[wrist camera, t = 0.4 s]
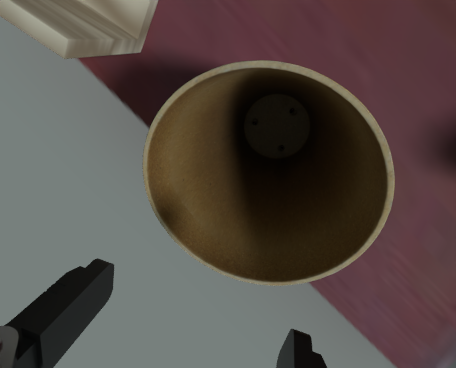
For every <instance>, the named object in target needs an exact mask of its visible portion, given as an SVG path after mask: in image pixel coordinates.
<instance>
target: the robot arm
mask: <svg viewBox="0 0 456 368" xmlns="http://www.w3.org/2000/svg"><path fill="white" fill-rule="evenodd" d="M113 276H114V265H113V264H112V263H109V262H106V261H103V260H101V259H95V260H93V261H92V262H91V263H90V264H89V265H88V266H87V267H86V268H83V267H81V266H79V267H77V268H75V269H73V270H71V271H69V272H67V273H66V274H65V275H64V276H62V277H61V278H60V279H59V280H58V281H56V283H55V284H53V285H52V286H51V287H49V288H48V289H47V291H46V292H44V293H43V294H41V295H40V296H39V297H38V298H37V299H36V300H34V301H33V302H32V303H31V304H30V305H29V306H28V307H26V308H25V309H24V310H23V311H22V312H21V313H20V314H18V315H17V316H16V317H15V318H14V319H12V320H11V321H10V322H9V323H7V324H6V325H4V326H0V368H53V367H54V366H55V365H56V363H57V362H58V361H59V360H60V359H61V357H62V356H63V355H64V354H65V353H66V351H67V350H68V349H69V348H70V347H71V345H72V344H73V343H74V341H75V340H76V339H77V338H78V337H79V336H80V334H81V333H82V332H83V331H84V329H85V328H86V327H87V326H88V325H89V323H90V322H91V321H92V320H93V319H94V317H95V316H96V315H97V313H98V312H99V311H100V310H101V309H102V308H103V306H104V305H105V304H106V302H107V301H108V300H109V298H110V295H111V293H112V290H113V278H114V277H113ZM276 368H327V366H326V364H325V362H324V360H323V358H322V356H321V354H318V353H315V352H313V351H312V341H311V337H310V335H308V334H306V333H303V332H300V331H297V330H294V329H291V330H290V332H289V334H288V336H287V338H286V340H285V342H284V344H283V346H282V348H281V350H280V353H279V356H278V360H277V367H276Z"/></svg>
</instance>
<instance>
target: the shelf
mask: <svg viewBox="0 0 456 368" xmlns="http://www.w3.org/2000/svg"><path fill="white" fill-rule="evenodd" d="M157 3H158V0H0V16H1V17H2V18H4V19H5V20H7V21H8V22H10V23H11V24H13V25H14V26H16V27H17V28H19V29H20V30H22V31H23V32H25V33H26V34H28V35H29V36H31V37H32V38H34V39H36V40H37V41H39V42H40V43H41V44H43V45H44V46H46V47H48V48H49V49H50V50H52V51H53V52H55V53H56V54H58V55H60V56H61V57H62V58H64V59H68V58H81V57H93V56H105V55H118V54H130V53H141V50H142V47H143V44H144V41H145V38H146V35H147V32H148V29H149V26H150V23H151V20H152V18H153V15H154V12H155V9H156V6H157Z"/></svg>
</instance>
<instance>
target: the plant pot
mask: <svg viewBox="0 0 456 368" xmlns="http://www.w3.org/2000/svg"><path fill="white" fill-rule="evenodd" d="M291 109H294V111H293V112H290V110H291ZM253 122H256V124H253ZM281 146H283V147H284V149H283V150H282V149H281ZM143 176H144V183H145V189H146V192H147V196H148V199H149V202H150V204H151V206H152V209H153V211H154V213H155V215H156V217H157V218H158V220H159V221H160V223H161V224H162V226H163V227H164V229H165V230H166V231H167V233H168V234H169V235H170V236H171V238H172V239H173V240H174V241H175V242H176V243H177V244H178V245H179V246H180V247H181V248H182V249H183V250H184V251H186V252H187V253H188V254H189V255H190V256H192V257H193V258H195V259H196V260H198V261H199V262H200V263H202V264H204V265H205V266H207V267H209V268H211V269H212V270H215V271H216V272H218V273H220V274H223V275H225V276H228V277H231V278H234V279H237V280H240V281H244V282H248V283H253V284H260V285H276V286H277V285H278V286H279V285H293V284H301V283H306V282H310V281H314V280H317V279H320V278H323V277H326V276H328V275H331V274H333V273H335V272H337V271H339V270H341V269H342V268H344V267H346V266H347V265H349V264H350V263H352V262H353V261H354V260H356V259H357V258H358V257H359V256H360V255H362V254H363V253H364V252H365V251H366V250H367V249H368V248H369V246H370V245H371V244H372V243H373V242H374V240H375V239H376V238H377V236H378V235H379V233H380V231H381V230H382V228H383V226H384V224H385V222H386V220H387V217H388V215H389V212H390V210H391V205H392V201H393V197H394V188H395V178H394V167H393V161H392V156H391V152H390V149H389V146H388V143H387V141H386V138H385V136H384V134H383V132H382V131H381V129H380V127H379V125H378V124H377V122H376V120H375V118H374V117H373V116H372V115H371V113H370V112H369V111H368V109H367V108H366V107H365V106H364V105H363V104H362V103H361V102H360V101H359V100H358V99H357V98H356V97H355V96H354V95H353V94H351V93H350V92H349V91H348V90H347V89H345V88H344V87H342V86H341V85H339V84H338V83H336V82H335V81H333V80H331V79H330V78H328V77H326V76H324V75H322V74H319V73H317V72H315V71H313V70H310V69H307V68H304V67H301V66H298V65H294V64H289V63H285V62H278V61H265V60H258V61H243V62H237V63H232V64H227V65H223V66H220V67H217V68H214V69H211V70H209V71H207V72H205V73H203V74H201V75H199V76H197V77H195V78H193V79H192V80H190V81H188V82H187V83H186V84H184V85H183V86H182V87H180V88H179V89H178V90H177V91H176V92H175V93H174V94H172V96H171V97H170V98H169V99H168V100H167V101H166V102H165V103H164V105H163V106H162V107H161V109H160V110H159V111H158V113H157V115H156V117H155V118H154V120H153V122H152V124H151V126H150V129H149V132H148V135H147V138H146V142H145V146H144V152H143Z"/></svg>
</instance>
